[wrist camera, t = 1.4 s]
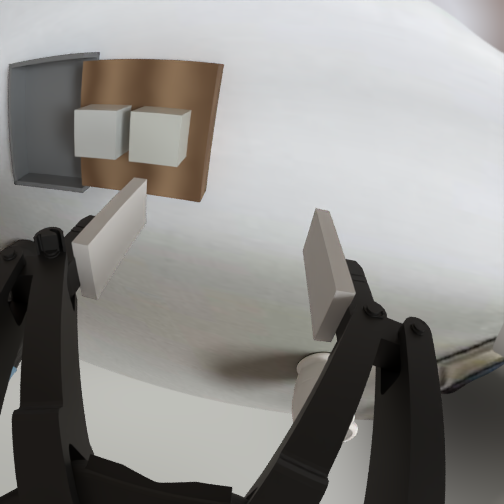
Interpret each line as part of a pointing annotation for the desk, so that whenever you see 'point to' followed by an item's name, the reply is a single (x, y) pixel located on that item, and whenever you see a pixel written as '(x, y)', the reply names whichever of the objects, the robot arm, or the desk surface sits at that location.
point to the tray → (46, 121)
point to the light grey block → (102, 131)
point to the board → (156, 95)
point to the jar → (312, 385)
